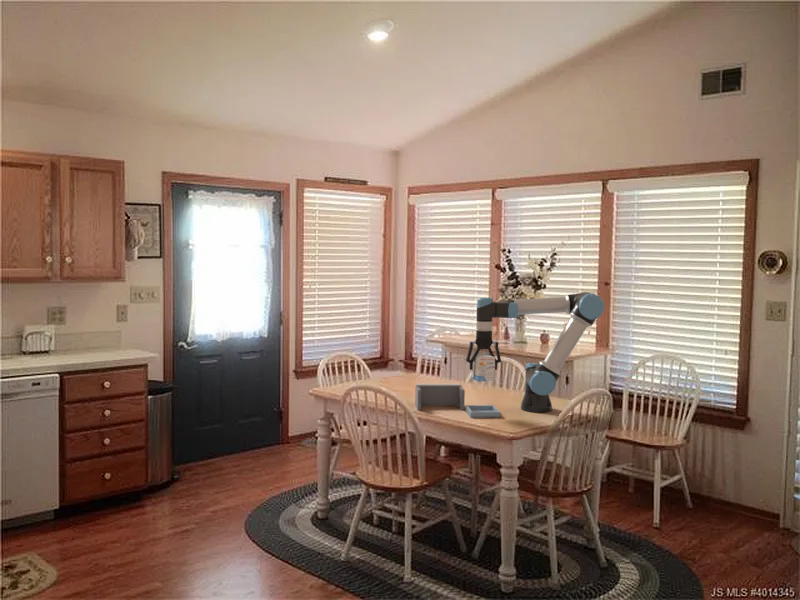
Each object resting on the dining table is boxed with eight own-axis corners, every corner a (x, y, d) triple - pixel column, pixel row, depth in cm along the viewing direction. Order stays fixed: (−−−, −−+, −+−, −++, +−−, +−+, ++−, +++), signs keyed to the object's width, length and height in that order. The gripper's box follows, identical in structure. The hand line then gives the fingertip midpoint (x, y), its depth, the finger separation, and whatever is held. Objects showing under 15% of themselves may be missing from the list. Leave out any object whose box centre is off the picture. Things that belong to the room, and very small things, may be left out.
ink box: (477, 381, 335) (478, 353, 334) (471, 378, 344) (472, 351, 343) (494, 381, 338) (495, 353, 337) (488, 378, 346) (488, 350, 345)
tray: (493, 410, 350) (493, 405, 350) (500, 417, 335) (500, 412, 335) (465, 410, 349) (465, 405, 349) (470, 417, 334) (470, 412, 334)
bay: (460, 404, 362) (460, 383, 361) (464, 410, 349) (464, 388, 348) (415, 404, 360) (415, 383, 360) (417, 410, 348) (417, 388, 347)
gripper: (505, 329, 343) (504, 375, 345) (460, 329, 342) (459, 375, 343) (508, 331, 336) (507, 378, 338) (462, 330, 334) (461, 378, 336)
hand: (483, 376), depth 341 cm, fingers closed on ink box, 9 cm apart
